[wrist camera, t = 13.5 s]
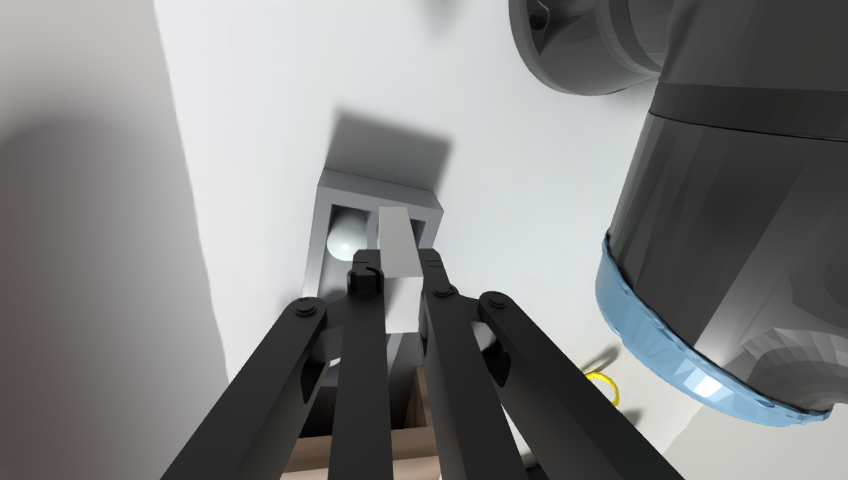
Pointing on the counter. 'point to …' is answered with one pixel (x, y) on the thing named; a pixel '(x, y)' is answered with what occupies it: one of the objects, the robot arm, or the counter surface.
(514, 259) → the counter surface
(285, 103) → the counter surface
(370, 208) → the tray
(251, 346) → the counter surface
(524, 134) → the counter surface
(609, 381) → the watch
